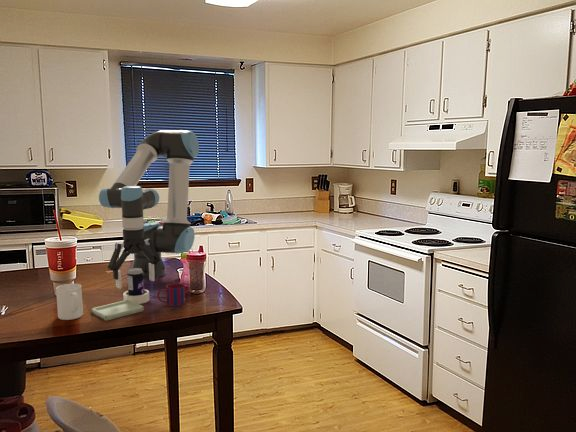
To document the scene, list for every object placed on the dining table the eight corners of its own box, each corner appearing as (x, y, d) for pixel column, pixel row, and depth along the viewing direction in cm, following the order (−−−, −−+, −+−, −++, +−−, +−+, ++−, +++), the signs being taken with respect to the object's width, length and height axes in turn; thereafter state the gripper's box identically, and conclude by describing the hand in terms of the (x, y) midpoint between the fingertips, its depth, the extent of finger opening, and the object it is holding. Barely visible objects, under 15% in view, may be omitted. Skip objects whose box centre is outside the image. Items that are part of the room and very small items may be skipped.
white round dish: (141, 295, 199) (141, 287, 198) (154, 300, 192) (153, 292, 192) (119, 300, 192) (118, 292, 192) (131, 306, 186) (130, 298, 185)
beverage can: (139, 303, 189) (138, 271, 187) (125, 302, 190) (124, 271, 188) (147, 298, 194) (145, 268, 193) (133, 297, 195) (132, 267, 194)
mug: (55, 315, 176) (53, 286, 174) (78, 310, 181) (77, 282, 179) (65, 325, 166) (63, 294, 165) (90, 320, 171) (88, 290, 170)
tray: (128, 303, 188) (128, 299, 188) (143, 310, 181) (143, 306, 180) (91, 312, 179) (91, 308, 178) (105, 320, 171) (105, 316, 171)
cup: (186, 305, 187) (186, 287, 186) (158, 308, 183) (158, 290, 182) (183, 300, 193) (182, 282, 192) (156, 303, 189) (155, 285, 188)
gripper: (157, 223, 199) (159, 275, 202) (95, 231, 182) (99, 288, 185) (168, 225, 194) (170, 279, 197) (105, 233, 177) (108, 293, 180)
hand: (135, 284), depth 191 cm, fingers open, 13 cm apart
